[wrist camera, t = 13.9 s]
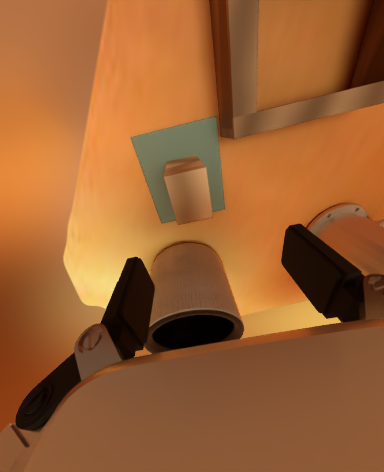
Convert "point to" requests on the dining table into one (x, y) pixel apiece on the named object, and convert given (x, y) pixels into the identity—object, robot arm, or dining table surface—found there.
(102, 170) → the dining table surface
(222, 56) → the box
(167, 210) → the mat
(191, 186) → the beech block
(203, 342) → the planter
